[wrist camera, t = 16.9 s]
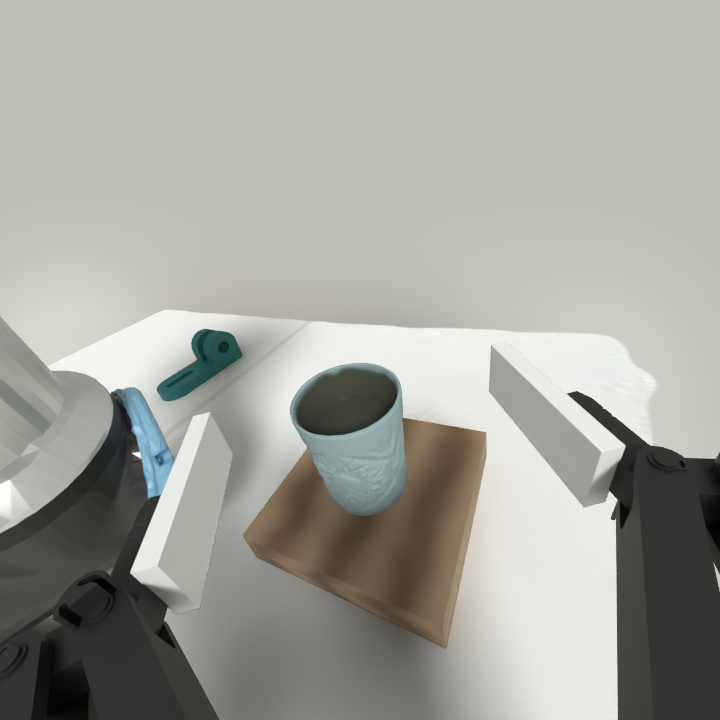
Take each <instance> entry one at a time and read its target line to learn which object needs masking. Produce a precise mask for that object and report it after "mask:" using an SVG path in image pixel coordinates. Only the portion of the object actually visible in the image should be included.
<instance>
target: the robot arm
mask: <svg viewBox="0 0 720 720" xmlns="http://www.w3.org/2000/svg"><path fill="white" fill-rule="evenodd" d="M489 392H490V393H491V394H492V396H493V397H494V398H495V399H496V401H497V402H498V403H499V404H500V405H501V407H502V408H503V409H504V410H505V412H506V413H507V414H508V415H509V416H510V418H511V419H512V420H513V421H514V423H515V424H516V425H517V426H518V427H519V429H520V430H521V431H522V432H523V434H524V435H525V436H526V437H527V438H528V440H529V441H530V442H531V443H532V445H533V446H534V447H535V448H536V449H537V451H538V452H539V453H540V454H541V456H542V457H543V458H544V459H545V460H546V462H547V463H548V464H549V465H550V467H551V468H552V469H553V470H554V471H555V473H556V474H557V475H558V476H559V478H560V479H561V480H562V481H563V482H564V484H565V485H566V486H567V487H568V489H569V490H570V491H571V492H572V493H573V495H574V496H575V497H576V498H577V500H578V501H579V502H580V503H581V504H582V506H583V507H587V506H591V505H595V504H598V503H602V502H605V501H606V498H607V495H608V493H609V491H610V492H611V493H612V494H613V495H614V496H615V497H616V498H617V499H618V501H617V503H616V506H615V508H614V511H613V513H612V516H611V519H612V520H615V518H616V563H617V666H618V720H720V592H719V587H718V582H717V578H716V573H715V568H714V564H715V566H716V568H717V570H718V572H719V574H720V453H719V455H718V456H717V458H716V459H700V458H699V459H698V458H684V457H683V456H681V455H679V454H678V453H676V452H674V451H672V450H669V449H666V448H663V447H657V446H650V445H649V444H647V443H646V442H645V441H644V440H642V439H641V438H640V437H639V436H637V435H636V434H635V433H634V432H633V431H631V430H630V429H629V428H628V427H626V426H625V425H624V424H623V423H622V422H620V421H619V420H618V419H617V418H615V417H613V416H612V414H611V413H609V412H608V411H607V410H606V409H603V407H602V406H601V405H600V404H598V403H597V402H596V401H595V400H593V399H592V398H590V397H588V396H586V395H584V394H582V393H580V392H577V391H576V392H572V393H568V394H566V393H565V392H564V391H563V390H562V389H561V388H559V387H558V386H557V385H556V384H555V383H554V382H553V381H551V380H550V379H549V378H548V377H547V376H546V375H545V374H543V373H542V372H541V371H540V370H539V369H538V368H537V367H535V366H534V365H533V364H532V363H531V362H530V361H529V360H528V359H526V358H525V357H524V356H523V355H522V354H521V353H520V352H518V351H517V350H516V349H515V348H514V347H513V346H512V345H510V344H509V343H508V342H502V343H498V344H494V345H491V360H490V382H489ZM232 458H233V452H232V450H231V449H230V447H229V445H228V443H227V441H226V440H225V438H224V436H223V434H222V432H221V431H220V429H219V427H218V425H217V423H216V422H215V420H214V418H213V416H212V414H211V413H210V412H208V413H204V414H200V415H196V416H193V418H192V420H191V423H190V425H189V428H188V430H187V433H186V435H185V438H184V440H183V442H182V445H181V447H180V450H179V452H178V455H177V457H176V460H174V458H173V456H172V454H171V452H170V449H169V447H168V445H167V443H166V441H165V438H164V436H163V434H162V432H161V430H160V428H159V426H158V424H157V422H156V420H155V418H154V416H153V414H152V412H151V410H150V408H149V406H148V404H147V402H146V400H145V398H144V397H143V395H142V393H141V392H140V391H139V390H138V389H136V388H134V387H130V388H126V389H123V390H122V389H117V390H115V391H114V392H111V394H110V393H109V392H108V391H107V389H106V388H105V387H104V386H103V385H102V384H100V383H99V382H98V381H97V380H96V379H95V378H92V377H90V376H88V375H85V374H81V373H77V372H70V371H51V370H50V369H49V368H48V367H47V366H46V365H45V364H44V363H43V362H42V361H41V360H40V359H39V358H38V356H36V354H35V353H34V352H33V351H32V350H31V349H30V348H29V347H28V346H27V345H26V344H25V343H24V342H23V341H22V339H21V338H20V337H19V336H18V335H17V334H16V333H15V332H14V331H13V330H12V329H11V328H10V327H9V326H8V325H7V324H6V322H4V320H3V319H2V318H1V317H0V720H219V718H218V716H217V715H216V713H215V711H214V709H213V707H212V705H211V703H210V702H209V700H208V698H207V696H206V694H205V692H204V690H203V689H202V687H201V685H200V683H199V681H198V679H197V677H196V676H195V674H194V672H193V670H192V668H191V666H190V664H189V663H188V661H187V659H186V657H185V655H184V653H183V651H182V650H181V648H180V646H179V644H178V642H177V640H176V638H175V636H174V635H173V633H172V631H171V629H170V627H169V625H168V624H167V623H166V622H165V621H164V618H165V614H166V611H167V607H168V608H170V609H171V610H172V611H173V612H174V613H175V614H180V613H184V612H188V611H191V610H195V609H199V608H200V605H201V601H202V596H203V592H204V587H205V582H206V578H207V573H208V569H209V564H210V559H211V555H212V550H213V545H214V541H215V536H216V532H217V527H218V522H219V518H220V513H221V509H222V504H223V499H224V495H225V490H226V486H227V481H228V476H229V472H230V467H231V462H232ZM713 562H714V564H713ZM52 614H54V615H53V618H48V617H49V616H51V615H52Z"/></svg>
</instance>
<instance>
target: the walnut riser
mask: <svg viewBox="0 0 720 720" xmlns="http://www.w3.org/2000/svg"><path fill="white" fill-rule="evenodd" d="M402 422H403V433H404V449H405V458H406V466H407V483H406V487H405V490H404V492H403V494H402V496H401V497H400V499H399V500H398V501H397V502H396V503H395V504H394V505H393V506H392V507H390V508H389V509H387V510H385V511H383V512H381V513H378V514H374V515H369V516H359V515H354V514H350V513H348V512H345V511H344V510H343V509H341V508H340V507H339V506H338V505H336V503H335V502H334V501H333V499H332V498H331V496H330V494H329V492H328V490H327V488H326V486H325V483H324V481H323V478H322V476H321V475H320V474H319V472H318V469H317V468H316V466H315V464H314V462H313V459H312V453H311V452H310V451H309V450H308V449H307V450H306V451H305V453H304V454H303V455H302V457H301V458H300V459H299V461H298V462H297V463H296V465H295V466H294V467H293V469H292V470H291V471H290V473H289V474H288V475H287V477H286V478H285V479H284V481H283V482H282V484H281V485H280V486H279V488H278V489H277V490H276V492H275V493H274V494H273V496H272V497H271V498H270V500H269V501H268V502H267V504H266V505H265V506H264V508H263V509H262V510H261V512H260V513H259V514H258V516H257V517H256V518H255V520H254V521H253V523H252V524H251V525H250V527H249V528H248V529H247V531H246V532H245V533H244V535H243V537H244V538H245V540H246V541H247V543H248V544H249V546H250V548H251V549H252V551H253V552H254V554H255V555H256V557H258V558H260V559H262V560H264V561H266V562H268V563H270V564H272V565H274V566H276V567H278V568H280V569H282V570H284V571H287V572H289V573H291V574H293V575H295V576H297V577H299V578H301V579H303V580H305V581H307V582H309V583H311V584H313V585H316V586H318V587H320V588H322V589H324V590H326V591H328V592H330V593H332V594H334V595H336V596H338V597H340V598H342V599H345V600H347V601H349V602H351V603H353V604H355V605H357V606H359V607H361V608H363V609H365V610H367V611H369V612H371V613H373V614H376V615H378V616H380V617H382V618H384V619H386V620H388V621H390V622H392V623H394V624H396V625H398V626H400V627H402V628H405V629H407V630H409V631H411V632H413V633H415V634H417V635H419V636H421V637H423V638H425V639H427V640H429V641H431V642H433V643H436V644H438V645H440V646H442V647H444V648H446V647H447V642H448V637H449V632H450V627H451V623H452V618H453V613H454V608H455V603H456V599H457V594H458V589H459V584H460V580H461V575H462V570H463V565H464V560H465V556H466V551H467V546H468V541H469V536H470V532H471V527H472V522H473V517H474V513H475V508H476V503H477V498H478V493H479V489H480V484H481V479H482V474H483V469H484V465H485V460H486V432H481V431H476V430H470V429H464V428H458V427H452V426H447V425H441V424H435V423H429V422H423V421H418V420H412V419H406V418H402Z"/></svg>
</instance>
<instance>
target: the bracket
mask: <svg viewBox="0 0 720 720" xmlns="http://www.w3.org/2000/svg"><path fill="white" fill-rule="evenodd" d="M191 345H192V350H193V352H194V354H195V356H196V358H197V360H196V361H195V362H193V363H192V364H190V365H189V366H187V367H185V368H184V369H182V370H181V371H179V372H177V373H176V374H174V375H172V376H171V377H169V378H168V379H166V380H165V381H163V382H162V383H161V384H160V385H159V386H158V387H157V391H158V393H159V394H160V396H161V398H162V399H163V400H165V401H172V400H176V399H179V398H181V397H183V396H185V395H187V394H188V393H190V392H191V391H192V390H194V389H195V388H197V387H198V386H200V385H201V384H203V383H204V382H206V381H207V380H208V379H210V378H211V377H213V376H214V375H216V374H217V373H219V372H220V371H222V370H223V369H225V368H226V367H227V366H229V365H230V364H232V363H233V362H235V361H236V360H238V359H239V358H241V357H242V356H243V355H242V353H241V351H240V348H239V346H238V344H237V342H236V339H235V338H234V336H233V335H232V334H230V333H228V332H223V331H215V330H209V329H203V330H200V331H198V332H197V333H196V334H195V335H194V337H193V339H192V343H191Z"/></svg>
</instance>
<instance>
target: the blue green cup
mask: <svg viewBox="0 0 720 720" xmlns="http://www.w3.org/2000/svg"><path fill="white" fill-rule="evenodd" d="M402 414H403V405H402V390H401V385H400V382H399V380H398V378H397V377H396V376H395V374H394V373H392V372H391V371H390V370H388V369H386V368H384V367H382V366H379V365H374V364H369V363H351V364H345V365H340V366H337V367H333V368H330V369H327V370H325V371H323V372H321V373H319V374H317V375H316V376H314V377H312V378H311V379H310V380H308V381H307V382H306V383H305V384H304V385H302V387H301V388H300V389H299V390H298V392H297V393H296V395H295V397H294V398H293V400H292V402H291V406H290V415H291V419H292V422H293V424H294V426H295V428H296V429H297V431H298V433H299V435H300V436H301V438H302V440H303V442H304V443H305V444H306V445H307V448H308V450H309V451H310V452H311V453H312V459H313V462H314V464H315V466H316V468H317V469H318V472H319V474H320V475H321V476H322V478H323V481H324V483H325V486H326V488H327V490H328V492H329V494H330V496H331V498H332V499H333V501H334V502H335V503H336V505H338V506H339V507H340V508H341V509H343V510H344V511H345V512H348V513H350V514H354V515H359V516H369V515H374V514H378V513H381V512H383V511H385V510H387V509H389V508H390V507H392V506H393V505H394V504H395V503H396V502H397V501H398V500H399V499H400V497H401V496H402V494H403V492H404V490H405V487H406V483H407V466H406V458H405V449H404V433H403V422H402Z"/></svg>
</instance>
